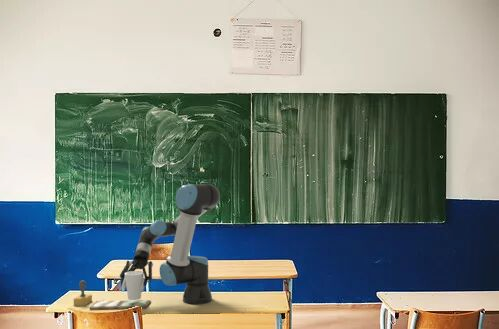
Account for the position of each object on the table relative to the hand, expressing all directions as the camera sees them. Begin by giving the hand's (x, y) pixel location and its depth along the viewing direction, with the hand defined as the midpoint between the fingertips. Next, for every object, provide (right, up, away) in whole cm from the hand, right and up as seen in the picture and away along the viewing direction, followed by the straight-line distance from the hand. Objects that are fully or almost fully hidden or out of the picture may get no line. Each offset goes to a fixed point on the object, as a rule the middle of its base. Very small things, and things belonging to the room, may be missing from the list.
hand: (131, 290), depth 278 cm
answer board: (-6, -9, +3) cm, 11 cm away
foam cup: (+1, -5, +3) cm, 6 cm away
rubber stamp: (-27, -9, +9) cm, 30 cm away
